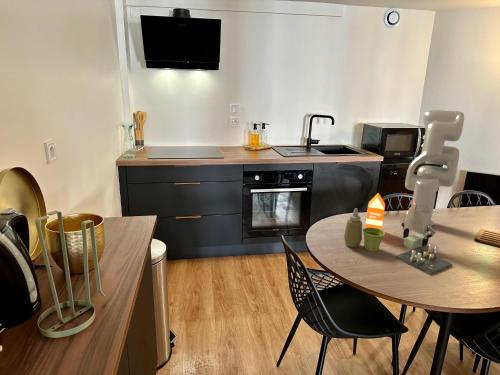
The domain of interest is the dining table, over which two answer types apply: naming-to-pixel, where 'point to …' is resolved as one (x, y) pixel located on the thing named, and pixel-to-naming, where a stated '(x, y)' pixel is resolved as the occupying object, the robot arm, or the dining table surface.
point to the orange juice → (375, 212)
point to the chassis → (424, 260)
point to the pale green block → (413, 241)
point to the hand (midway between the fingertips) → (414, 241)
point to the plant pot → (372, 238)
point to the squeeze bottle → (353, 230)
